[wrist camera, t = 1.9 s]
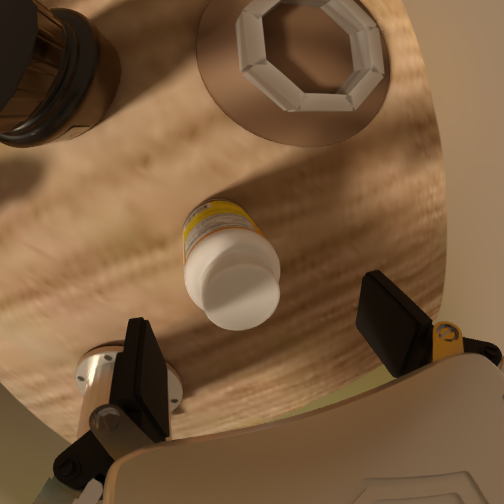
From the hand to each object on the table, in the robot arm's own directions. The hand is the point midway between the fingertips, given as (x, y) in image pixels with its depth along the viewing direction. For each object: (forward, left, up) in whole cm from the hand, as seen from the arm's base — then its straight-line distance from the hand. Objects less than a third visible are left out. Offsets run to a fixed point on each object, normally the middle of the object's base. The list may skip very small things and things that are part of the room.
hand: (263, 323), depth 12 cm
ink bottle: (+13, +10, -13) cm, 21 cm away
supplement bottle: (-1, 0, -13) cm, 13 cm away
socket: (+13, -8, -13) cm, 20 cm away
